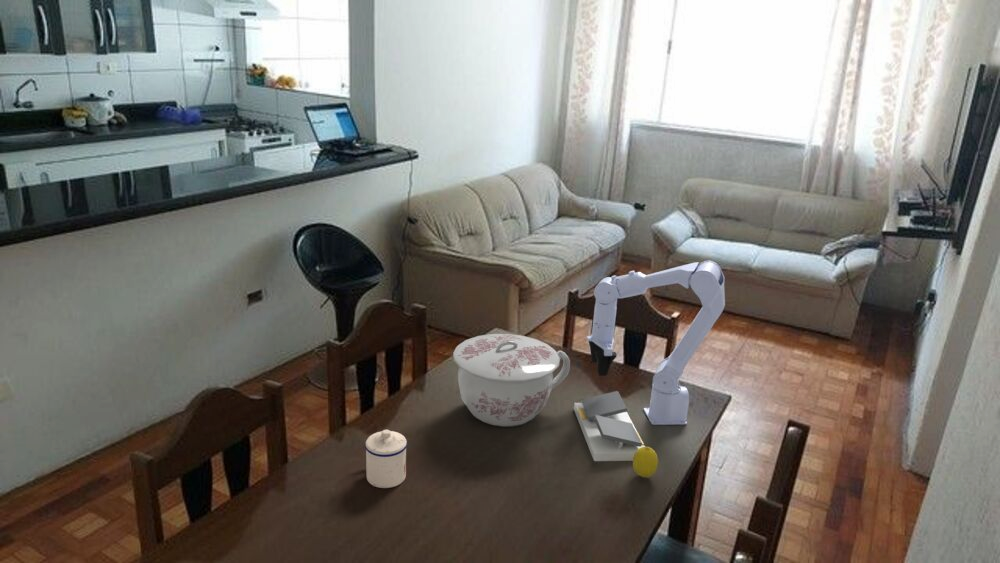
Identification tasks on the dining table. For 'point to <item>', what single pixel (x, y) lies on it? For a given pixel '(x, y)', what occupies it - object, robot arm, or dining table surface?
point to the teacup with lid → (386, 459)
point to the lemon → (645, 461)
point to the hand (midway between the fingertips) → (599, 368)
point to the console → (601, 446)
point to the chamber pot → (507, 377)
